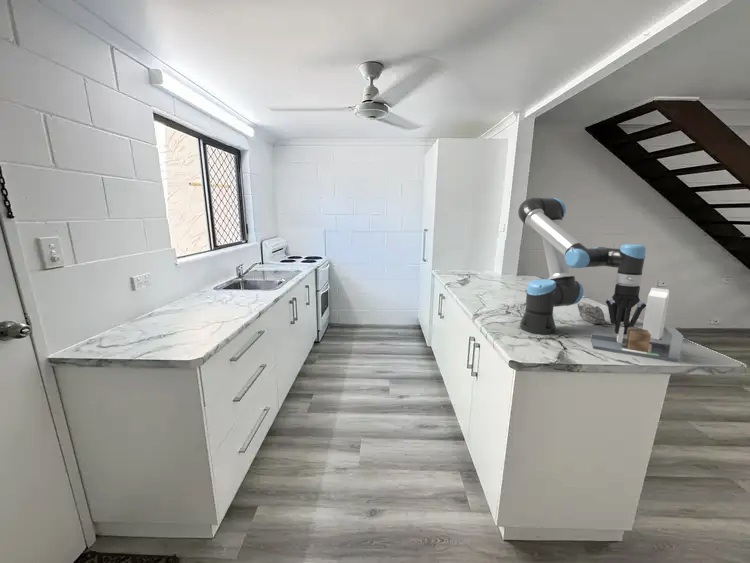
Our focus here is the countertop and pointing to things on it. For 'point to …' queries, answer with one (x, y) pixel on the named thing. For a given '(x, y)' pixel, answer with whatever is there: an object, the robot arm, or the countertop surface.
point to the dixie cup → (616, 312)
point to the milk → (656, 312)
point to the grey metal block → (671, 342)
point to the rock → (591, 313)
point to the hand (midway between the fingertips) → (619, 341)
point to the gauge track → (612, 345)
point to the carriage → (638, 339)
